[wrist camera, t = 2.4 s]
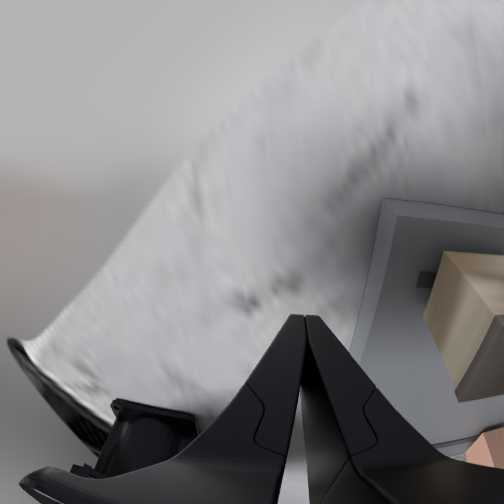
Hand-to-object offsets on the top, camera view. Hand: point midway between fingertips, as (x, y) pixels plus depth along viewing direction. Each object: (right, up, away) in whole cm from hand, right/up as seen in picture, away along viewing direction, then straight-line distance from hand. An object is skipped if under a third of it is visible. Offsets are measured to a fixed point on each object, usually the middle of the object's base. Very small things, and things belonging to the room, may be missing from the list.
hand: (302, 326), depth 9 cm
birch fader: (+7, +1, +2) cm, 8 cm away
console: (+13, -5, +7) cm, 15 cm away
